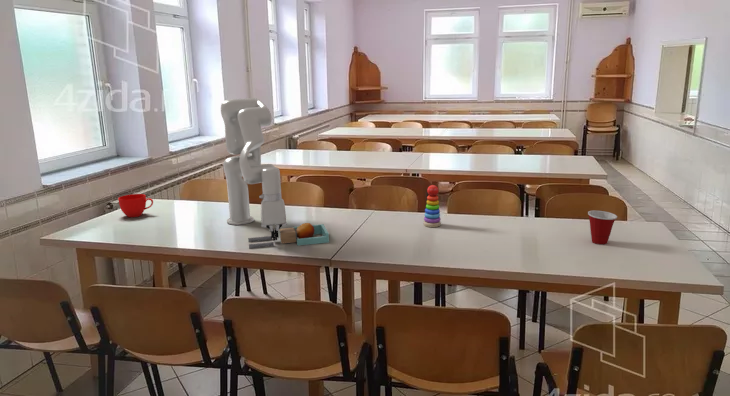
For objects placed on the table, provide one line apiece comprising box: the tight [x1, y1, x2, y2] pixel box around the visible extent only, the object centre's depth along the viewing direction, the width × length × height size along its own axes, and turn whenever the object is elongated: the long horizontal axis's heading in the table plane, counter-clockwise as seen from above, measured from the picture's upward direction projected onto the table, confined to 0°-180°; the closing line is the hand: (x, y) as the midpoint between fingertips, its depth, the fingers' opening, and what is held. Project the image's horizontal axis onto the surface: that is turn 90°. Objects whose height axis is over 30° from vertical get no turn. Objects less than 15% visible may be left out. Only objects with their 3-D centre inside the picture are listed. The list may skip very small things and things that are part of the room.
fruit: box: [296, 222, 315, 239], centre depth 229 cm, size 8×8×8 cm
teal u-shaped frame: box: [292, 223, 330, 246], centre depth 230 cm, size 14×13×4 cm
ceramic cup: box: [118, 193, 154, 218], centre depth 275 cm, size 13×17×10 cm
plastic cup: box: [587, 210, 618, 245], centre depth 214 cm, size 11×11×12 cm
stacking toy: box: [423, 184, 442, 228], centre depth 243 cm, size 8×8×19 cm
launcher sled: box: [279, 227, 298, 244], centre depth 227 cm, size 7×7×4 cm
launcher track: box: [248, 235, 275, 249], centre depth 225 cm, size 10×10×2 cm
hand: (275, 239), depth 227 cm, fingers closed
